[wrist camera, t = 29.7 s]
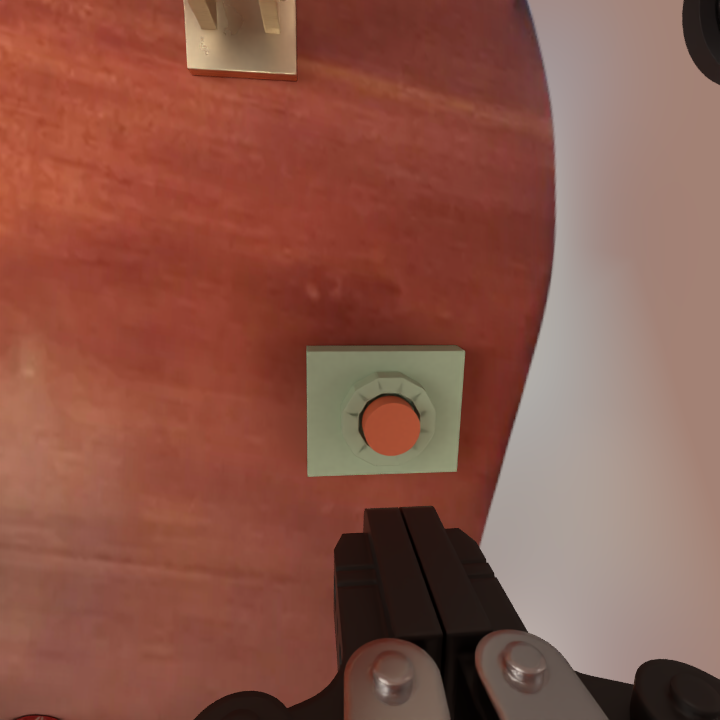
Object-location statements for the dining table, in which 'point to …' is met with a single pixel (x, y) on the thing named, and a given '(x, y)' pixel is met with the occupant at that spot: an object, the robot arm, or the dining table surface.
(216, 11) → the lever bracket
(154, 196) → the dining table surface
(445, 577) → the robot arm
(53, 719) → the mug
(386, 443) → the button
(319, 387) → the switch block
